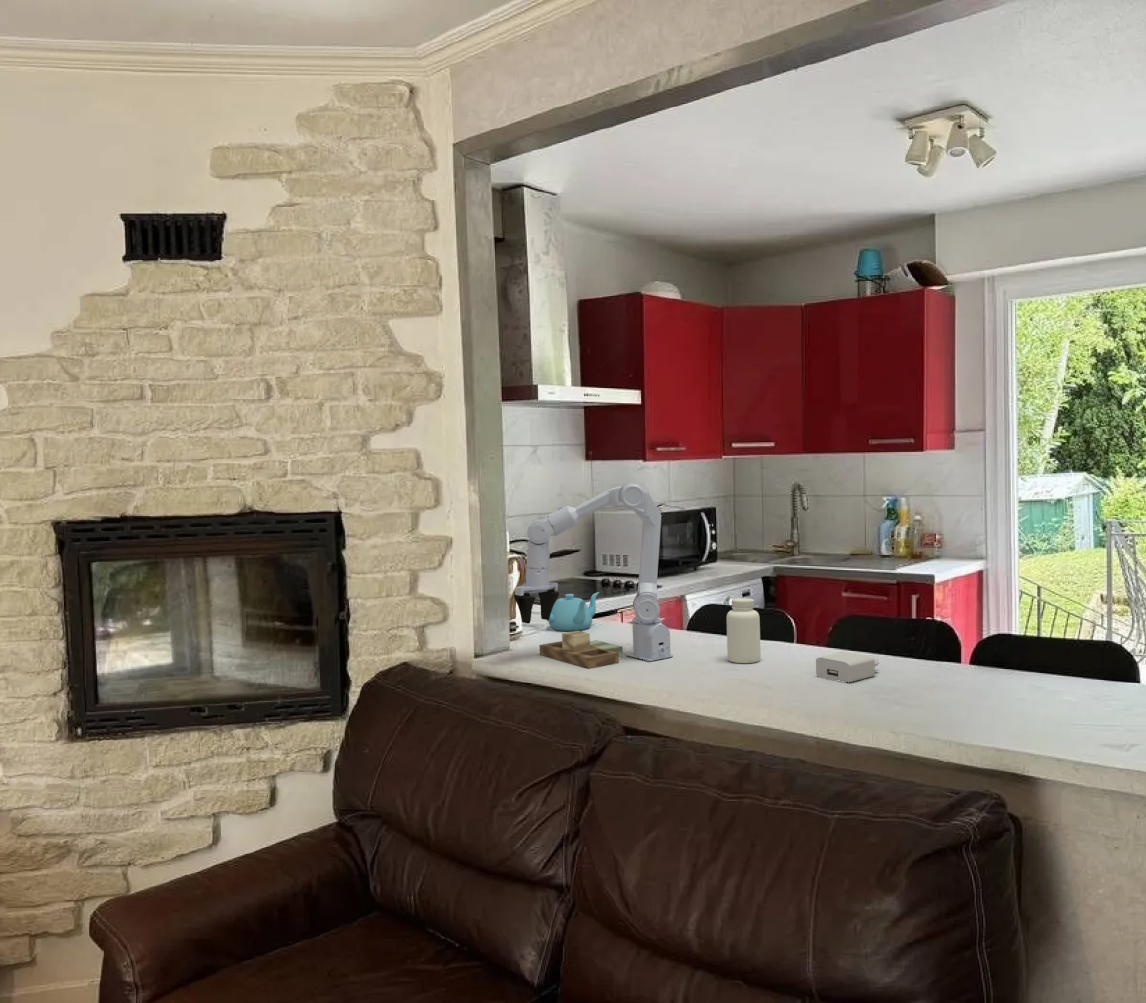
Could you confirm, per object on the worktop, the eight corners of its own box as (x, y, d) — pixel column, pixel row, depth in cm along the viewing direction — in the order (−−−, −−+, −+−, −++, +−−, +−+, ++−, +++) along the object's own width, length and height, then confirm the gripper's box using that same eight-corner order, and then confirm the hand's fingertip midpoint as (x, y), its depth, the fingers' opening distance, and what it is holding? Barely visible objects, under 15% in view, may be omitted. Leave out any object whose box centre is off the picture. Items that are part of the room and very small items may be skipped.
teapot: (557, 623, 292) (556, 590, 291) (603, 624, 286) (602, 590, 286) (539, 632, 278) (537, 597, 278) (586, 633, 273) (585, 598, 272)
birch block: (590, 649, 239) (589, 633, 238) (573, 652, 236) (573, 636, 236) (578, 646, 243) (578, 630, 243) (562, 649, 240) (561, 633, 240)
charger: (891, 673, 214) (850, 684, 206) (857, 666, 222) (816, 677, 213) (891, 652, 214) (849, 663, 205) (857, 646, 222) (815, 656, 213)
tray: (636, 659, 236) (635, 649, 236) (589, 668, 228) (588, 658, 228) (584, 646, 254) (584, 637, 254) (539, 654, 246) (539, 645, 246)
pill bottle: (759, 656, 235) (757, 596, 234) (762, 664, 227) (760, 601, 226) (726, 657, 236) (725, 597, 235) (728, 664, 228) (727, 602, 227)
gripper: (543, 564, 247) (541, 615, 248) (506, 568, 236) (504, 622, 236) (565, 567, 243) (562, 619, 244) (528, 571, 231) (526, 626, 232)
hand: (535, 621), depth 240 cm, fingers open, 7 cm apart
